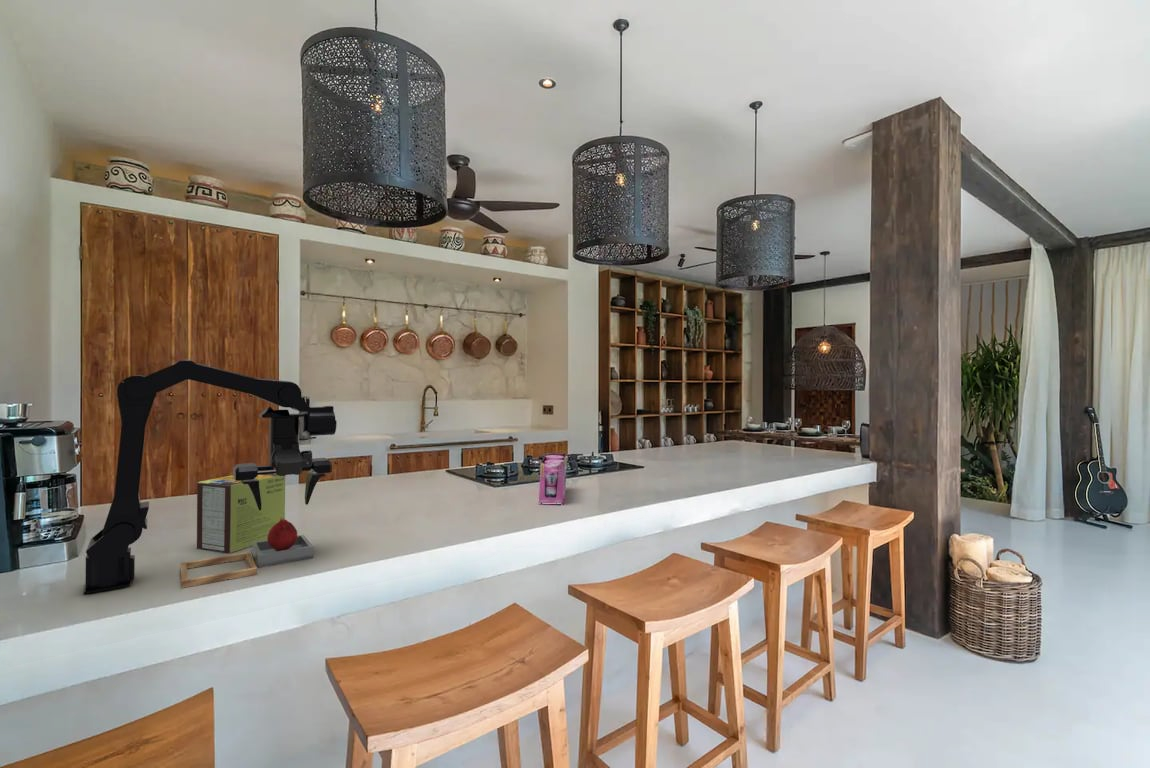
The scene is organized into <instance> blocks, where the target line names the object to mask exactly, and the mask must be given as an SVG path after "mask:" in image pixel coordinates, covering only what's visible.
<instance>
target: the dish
mask: <svg viewBox="0 0 1150 768" xmlns="http://www.w3.org/2000/svg"><path fill="white" fill-rule="evenodd" d="M251 555H252V558H253V560H254V562H255V565H256V564H257V565H256V567H257V568H262V567H261V566H263V567H267V566H266V565H269V566H274V565H273V564H275V565H279V564H280V565H281V564H285V562H286V563H291V562H297V561H301V560H309V559H313V558H314V545H313V544H312V542H310V540H309V539H308V537H306V535H304V534H299V535H298V534H297V540H296V542H295V544H294V545H293V546H292V547H291V548H289V549H288V550H282V551H276V550H275V549H273V548H272V547H271V546H270V545H269V543H268V540H264V541H258V542H252V546H251ZM278 563H279V564H278Z"/></svg>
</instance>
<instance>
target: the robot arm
mask: <svg viewBox="0 0 1150 768" xmlns="http://www.w3.org/2000/svg"><path fill="white" fill-rule="evenodd" d="M188 380H190V381H194V382H198V383H203V384H207V385H210V386H211V385H212V386H216V387H220V388H223V389H228V390H232V391H236V392H241V393H245V394H248V395H250V396H253V397H256V398H258V399H261V400H263V401H265V402H268V403H270V404H273V405H276V406H278V407H282V408H290V409H291V410H294V411H298V412H300V413H290V412H289V409H273V408H272V407H271V406H267V407H266V408H265V409H264V410H263V411H262V412H261V413H259V415H258V416H259V417H260V418H262V419H268V418H269V457H268V458H269V459H268V460H269V465H257V464H256V463H255V462H249V463H248V462H247V463H237V464H235V465H234V466H233V469H232V471H233V472H232V474H233V477H234V479H235V481H241V482H242V484H248V485H249V487H250V489H251V491H252V493H253V496H254V499H255V501H256V504H257V507H258V509H259V511H260V510H261V496H260V489H259V480H258V479H257V476H258V475H263V474H274V473H276V474H277V475H278V476H285V477H286V476H289V475H291V476H292V475H294V476H299V475H301V474H302V473H303V472H304V471H306V478H305V490H304V504H305V505H306V506H308V505H309V502H310V500H311V498H312V494H313V491H315V490H314V489H315V487H316V485H317V483H318V482H319V480H320V479H321V478H323V477H326V474H327V473H332V472H333V464H332V461H331V460H329V459H328V458H326V457H317V458H313V452H312V450H310V449H309V450H302V451H301V449H300V444H299V443H300V431H301V432H302V433H304V432H305V435H306V437H313V436H315V437H316V436H333V435H335V434H336V431H337V426H338V425H337V420H336V413H335V411H334V406H333V405H324V406H309V403H307V402H306V401H305V399H304V398H303V397H302V389H301V388H300V387H299V385H298V384H297V383H296V382H293V381H286V380H279V379H278V380H277V379H270V378H269V379H268V378H256V377H253V376H248V375H245V374H241V373H237V372H234V371H228V370H226V369H222V368H218V367H214V366H209V365H205V364H202V363H197V362H195V361H193V360H192V359H180V360H178V361H176V362H175V363H173V364H172V365H169V366H167V367H164V368H162V369H159V370H157V371H155V372H153V373H150V374H148V375H140V374H138V375H137V374H135V375H132V376H128V377H125V378H124V379H122V380H121V381H120V382H119V383H118V385H117V388H116V395H117V402H118V410H119V415H120V416H119V417H120V423H121V428H120V437H119V444H118V445H119V447H118V456H117V465H116V476H115V485H114V494H113V499H112V501H111V505H110V508H109V510H108V514H107V516H106V519H105V522H104V526H103V528H102V529H101V530H100V531H99V532H98V533H96V534H95V535H94V536H92V537H91V538H90V540H89V541H88V545H87V548H86V550H85V553H86V556H85V568H84V569H85V573H84V574H85V578H84V579H85V581H84V583H85V585H84V589H83V593H82V594H83V595H85V594H93V593H98V592H103V591H104V592H105V591H110V590H117V589H120V588H121V589H122V588H126V587H127V588H128V587H130V586H131V584H132V581H134V580H135V576H136V556H135V554H132V547H129V546H130V545H132V544H134V543H135V542H137V541H138V540H139V539H140V538H141V536H142V534H143V529H144V530H148V518H147V515H148V512H149V508H150V501H143V502H141V499H140V497H141V496H140V485H141V483H140V482H141V475H142V474H141V473H142V467H143V466H142V465H143V457H144V456H143V454H144V445H145V436H146V425H147V421H148V418H149V416H150V413H151V411H152V408H153V405H154V402H155V398H156V395H157V393H160V392H162V391H165V390H166V389H168V388H170V387H173V386H175V385H177V384H180V383H182V382H184V381H188ZM116 588H117V589H116Z"/></svg>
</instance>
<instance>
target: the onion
mask: <svg viewBox="0 0 1150 768" xmlns="http://www.w3.org/2000/svg"><path fill="white" fill-rule="evenodd" d="M297 536H298V531H297V529H296V527H295V525H293V523H291V522H290V521H288V520H287V519H286V518H285V519H284V517H281V518H280V521H279V522H278V523H277V524H275V525H274V526H273V527H272V528H271V529H270V531H269V533H268V537H267V540H268V543H269V545H270V546H271V547H272V548H273V549H275V550H276V551H282V550H288V549H289V548H291V547H292V546H293V545H294V544H295V542H296V540H297Z"/></svg>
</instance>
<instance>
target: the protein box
mask: <svg viewBox="0 0 1150 768" xmlns="http://www.w3.org/2000/svg"><path fill="white" fill-rule="evenodd" d="M257 479H258V480H259V489H260V496H261V510H260V511H259V509H258V507H257V504H256V501H255V499H254V496H253V493H252V491H251V489H250V487H249V485H248V484H242V482H241V481H235V479H234V477H233V475H227V476H221V477H216V478H213V479H212V478H211V479H206V480H201V481H198V482H197V490H196V491H197V493H196V549H198V548H201V549H200V550H205V549H207V551H212V550H213V551H212V552H219V551H220V553H227V554H233V553H234V552H237V551H241V550H244V549H246V548H250V547H252V542H258V541H264V540H267V537H268V533H269V531H270V529H271V528H272V527H273V526H274V525H275V524H277V523H278V522H279V521H280V518H281V517H284V519H285V520H286V475H285V476H278V475H277V474H276V473H274V474H263V475H258V476H257Z"/></svg>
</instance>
